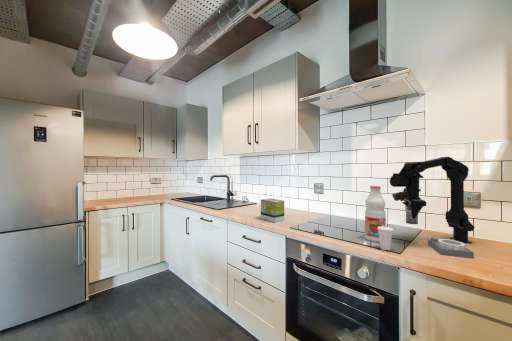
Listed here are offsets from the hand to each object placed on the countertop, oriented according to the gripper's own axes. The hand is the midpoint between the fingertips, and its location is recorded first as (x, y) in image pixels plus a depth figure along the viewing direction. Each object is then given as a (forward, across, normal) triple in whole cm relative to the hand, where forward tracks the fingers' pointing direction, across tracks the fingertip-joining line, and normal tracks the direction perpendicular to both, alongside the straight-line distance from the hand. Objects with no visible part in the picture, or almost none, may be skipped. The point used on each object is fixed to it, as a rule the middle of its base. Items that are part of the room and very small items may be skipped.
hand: (411, 217), depth 110 cm
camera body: (+12, +8, +12) cm, 19 cm away
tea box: (+13, -21, -79) cm, 83 cm away
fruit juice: (+13, +2, -17) cm, 21 cm away
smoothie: (+13, +16, -15) cm, 25 cm away
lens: (+3, 0, 0) cm, 3 cm away
